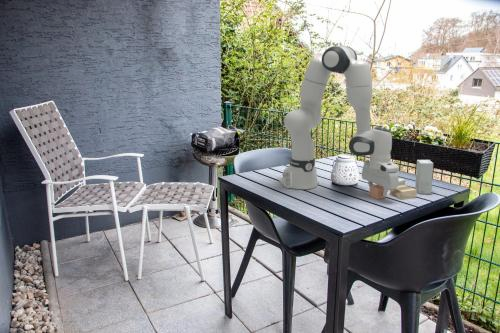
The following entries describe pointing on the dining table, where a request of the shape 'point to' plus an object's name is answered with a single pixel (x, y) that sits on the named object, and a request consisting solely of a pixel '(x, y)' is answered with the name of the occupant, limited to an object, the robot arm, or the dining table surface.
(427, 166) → the skincare box
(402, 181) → the offwhite cube
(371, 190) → the terracotta cube
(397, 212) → the dining table surface
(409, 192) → the beech base
